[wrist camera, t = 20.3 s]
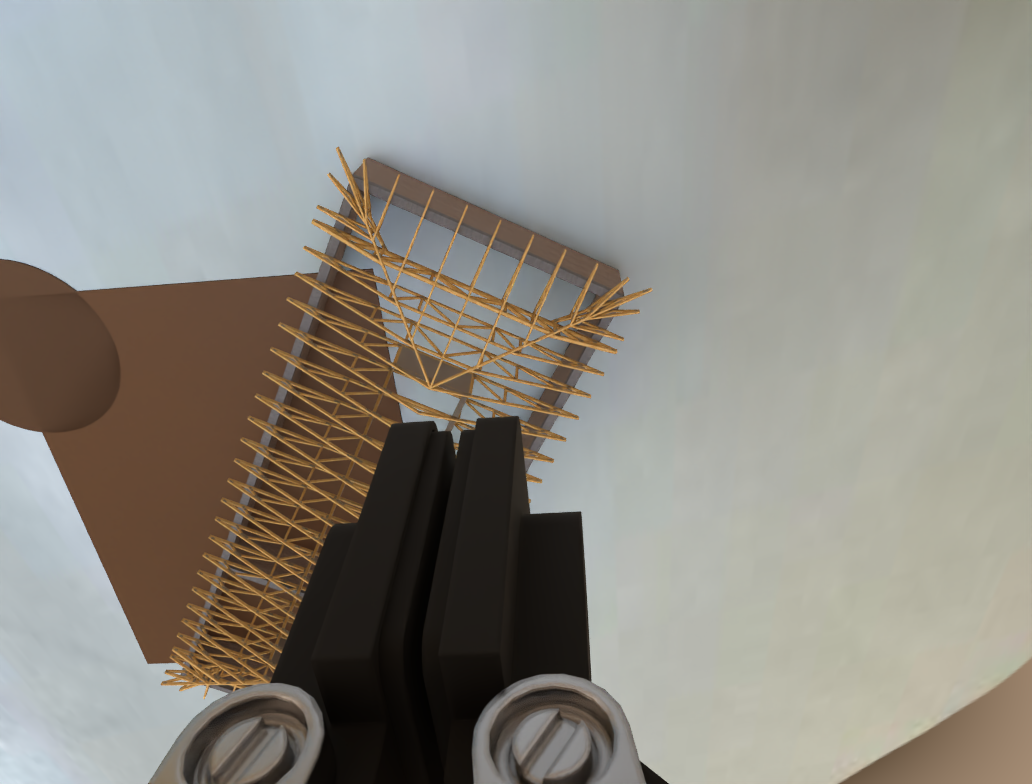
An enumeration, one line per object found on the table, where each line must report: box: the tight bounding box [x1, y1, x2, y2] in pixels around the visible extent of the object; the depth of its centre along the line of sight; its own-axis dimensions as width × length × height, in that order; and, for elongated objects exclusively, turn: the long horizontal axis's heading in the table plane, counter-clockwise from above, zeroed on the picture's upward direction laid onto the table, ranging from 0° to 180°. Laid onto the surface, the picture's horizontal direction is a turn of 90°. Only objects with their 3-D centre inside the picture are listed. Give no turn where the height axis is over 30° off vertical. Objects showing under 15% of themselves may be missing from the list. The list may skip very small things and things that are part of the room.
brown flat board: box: [0, 259, 402, 664], centre depth 45 cm, size 24×28×1 cm
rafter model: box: [161, 147, 652, 699], centre depth 41 cm, size 35×14×6 cm, turn 156°
